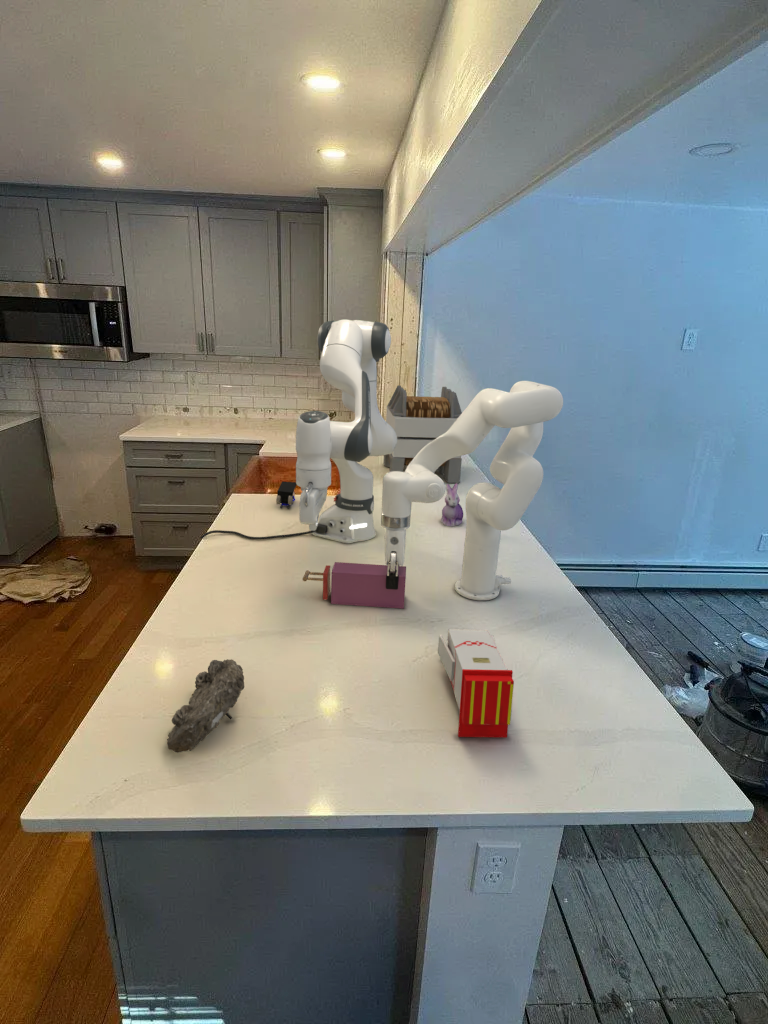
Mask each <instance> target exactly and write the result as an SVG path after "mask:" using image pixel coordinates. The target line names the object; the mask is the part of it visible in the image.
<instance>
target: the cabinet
mask: <svg viewBox="0 0 768 1024" xmlns="http://www.w3.org/2000/svg"><path fill="white" fill-rule="evenodd" d="M395 569H396V566H395ZM387 570H388V565H386V564H373V563H372V564H371V563H356V562H340V561H334V564H333V566H332V570H331V571H330V596H331V597H330V605H340V606H356V607H357V606H358V607H374V608H385V609H387V608H389V609H405V597H406V581H407V566H406V565H403V566H398V575H399V579H398V589H397V590H394V589H386V574H387Z"/></svg>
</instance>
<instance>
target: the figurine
mask: <svg viewBox="0 0 768 1024" xmlns="http://www.w3.org/2000/svg"><path fill="white" fill-rule="evenodd" d="M445 489H446V495H445V497H444V502H445V505H444V506H443V507H442V510H441V519H440V522H441V523H442V524H443V525H444V526H447V527H454V526H459V525H461V524H462V523H463V519H464V511H463V508H462V505H461V504H460V501H461V499H460V496H459V494H458V489H459V483H454V485H453V487H451V485H450V483H447V484H445Z"/></svg>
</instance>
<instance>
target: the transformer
mask: <svg viewBox="0 0 768 1024" xmlns="http://www.w3.org/2000/svg"><path fill="white" fill-rule="evenodd" d="M440 393H441V394H440V396H415V395H414V396H413V395H412V396H411V395H407V394H408V393H407V390H406V389H404V388H403V387H402V385H399V384H398V385H397V386H396V388H395V390H394V392H393V394H392V395H391V398H390V400H389V402H388V404H387V405H386V413H385V414H386V415H385V421H386V422H387V423H388V424H389V425H390V426H391V427H392V428H393V429H394V430H395V432H396V435H397V444H396V447H395V449H394V450H393V452H392V453H391V454H387V455H383V466H384V467H388V468H389V472H392V471H401V472H404V469H405V466H406V467H407V466H408V465H409V464H410V462H411V461H412V460H413V459H414V457H415V456H416V455H417V454H418V452H419V451H420V450H421V449H422V448H423V447H425V446H426V445H427V444H429V443H430V442H432V441H433V440H435V439H436V438H437V437H439V436H441V435H442V434H444V433H445V432H447V431H448V430H449V428H450V427H451V426H452V425H453V424H454V422H455V421H456V420H457V419H458V417H459V416H460V415H461V414H462V412H463V411H462V408H461V405H460V402H459V398H458V395H457V392H455V391H453V390H452V389H451V388H447V386H442V387H441V392H440ZM462 461H463V460H462V456H457V457H454V458H451V459H449V460H447V461H446V462H444V463H443V464H442V465H441V466H439V467H438V469H439V473H440V474H441V475H443V478H444V479H445V481H446V482H447V484H456V483H457V484H459V483H461V472H462ZM438 469H437V470H438Z"/></svg>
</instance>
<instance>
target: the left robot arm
mask: <svg viewBox="0 0 768 1024" xmlns="http://www.w3.org/2000/svg"><path fill="white" fill-rule="evenodd" d="M317 332H318V334H317V345H318V350H319V352H321V354H320V360H319V371H320V374H321V376H322V378H323V379H324V380H325V381H326V383H328V384H329V385H330V386H332V387H333V388H334V389H337V390H339V391H341V402H342V405H343V406H344V407H345V408H346V409H347V410H348V411H349V412H352V413H354V420H352V421H349V422H348V421H335V420H330V416H329V414H328V413H326V412H325V411H322V410H321V411H320V410H309V411H305V412H303V413H301V414H300V415H298V418H297V422H296V429H295V430H296V431H295V451H296V456H297V457H296V463H295V482H296V484H297V485H296V486H297V487H300V491H301V493H300V496H299V513H298V515H299V517H298V518H299V523H300V524H301V525H308V529H309V530H308V531H302V532H296V533H287V534H277V535H269V536H268V535H267V536H250V535H246V534H243V533H241V532H238V531H233V530H221V529H217V530H209V531H207V532H205V533H203V534H202V535H201V536H200V537H199V539H204V538H205V537H206V536H208V535H211V534H230V535H231V534H233V535H237V536H239V537H241V538H245V539H248V540H257V541H259V540H271V539H280V538H291V537H297V536H303V535H304V536H305V535H309V534H311V536H315V537H319V538H323V539H326V540H330V541H336V542H339V543H343V544H352V543H357V542H365V541H368V540H372V539H373V538H375V537H376V535H377V532H376V528H375V523H374V513H373V512H374V509H375V496H374V474H373V472H372V471H371V469H369V468H368V467H366V466H364V465H362V464H360V462H363V461H364V460H365V459H367V458H369V457H382V456H384V455H387V454H391V453H392V452H393V450H394V449H395V447H396V444H397V435H396V432H395V430H394V429H393V428H392V427H391V426H390V425H389V424H388V423H387V422H386V419H384V417H383V416H382V414H381V412H380V410H379V406H378V398H377V397H378V394H377V389H378V387H377V385H378V384H377V383H378V372H377V370H378V367H377V363H378V362H380V360H381V359H383V358H385V357H386V356H387V354H388V353H389V351H390V348H391V343H392V336H391V332H390V328H389V327H388V325H387V324H386V323H384V322H380V321H377V320H376V321H371V320H370V321H369V320H363V319H362V320H359V319H353V320H351V319H346V318H345V319H344V318H343V319H339V320H337V321H335V320H329V321H325V322H323V323H322V324H321V325H320V326H319V329H318V331H317ZM331 460H332V462H334V464H335V466H336V467H337V470H338V474H339V483H340V484H339V485H340V488H339V489H340V490H339V491H338V492H337V494H336V495H335V496H334V497H333V502H334V504H333V505H331V506H329V507H328V508H326V509H325V510H323V512H321V511H322V509H323V506H324V505H325V502H326V500H327V496H328V488H329V487H330V486H331V485H332V462H331ZM320 513H321V514H320Z"/></svg>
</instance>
